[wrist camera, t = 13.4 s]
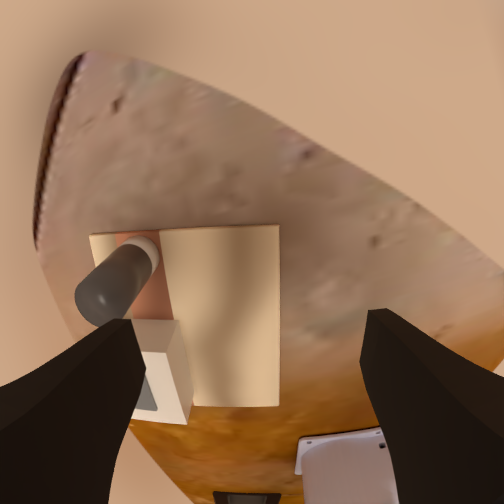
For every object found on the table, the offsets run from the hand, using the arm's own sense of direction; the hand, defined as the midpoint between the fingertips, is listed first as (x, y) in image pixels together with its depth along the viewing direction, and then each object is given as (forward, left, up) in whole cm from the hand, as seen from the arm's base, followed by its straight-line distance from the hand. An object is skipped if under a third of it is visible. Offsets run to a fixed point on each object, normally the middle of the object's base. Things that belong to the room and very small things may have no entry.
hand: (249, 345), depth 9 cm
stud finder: (+8, +9, -10) cm, 15 cm away
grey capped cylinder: (+7, +1, -9) cm, 12 cm away
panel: (+5, +7, -10) cm, 13 cm away
